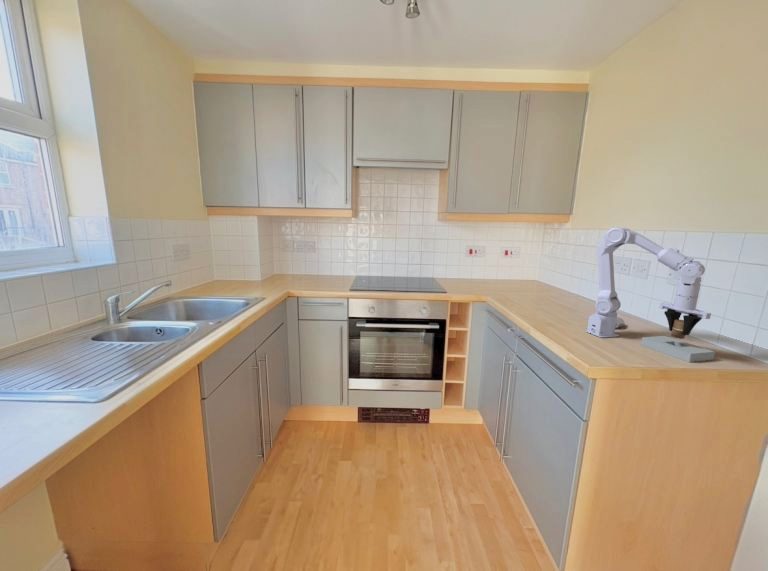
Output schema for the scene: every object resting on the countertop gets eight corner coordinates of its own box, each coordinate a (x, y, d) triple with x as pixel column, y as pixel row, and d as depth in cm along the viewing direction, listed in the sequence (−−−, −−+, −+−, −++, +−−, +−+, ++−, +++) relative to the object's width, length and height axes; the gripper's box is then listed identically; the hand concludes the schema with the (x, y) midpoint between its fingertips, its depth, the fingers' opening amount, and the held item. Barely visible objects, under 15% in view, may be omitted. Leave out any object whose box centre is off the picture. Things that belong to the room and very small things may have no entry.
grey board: (689, 362, 105) (690, 353, 105) (640, 344, 120) (642, 337, 120) (713, 359, 108) (715, 351, 107) (662, 343, 123) (664, 335, 122)
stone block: (623, 328, 147) (599, 320, 153) (627, 319, 145) (602, 311, 151) (618, 335, 138) (593, 326, 145) (622, 325, 137) (597, 316, 143)
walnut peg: (687, 338, 112) (691, 322, 110) (678, 338, 111) (682, 322, 110) (676, 334, 115) (680, 319, 114) (668, 335, 115) (671, 319, 113)
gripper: (720, 300, 104) (711, 339, 107) (672, 291, 118) (665, 325, 121) (705, 300, 103) (696, 340, 105) (657, 291, 116) (651, 326, 119)
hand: (679, 332), depth 113 cm, fingers closed on walnut peg, 4 cm apart
